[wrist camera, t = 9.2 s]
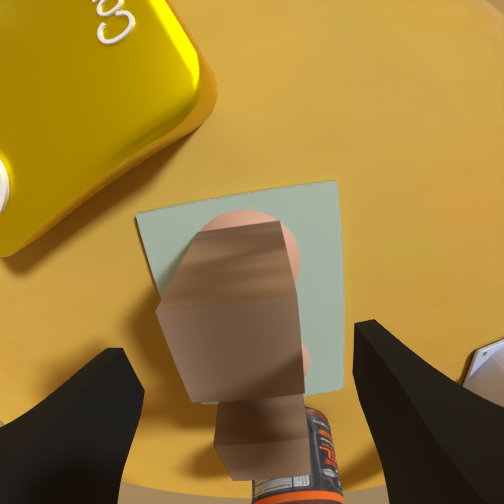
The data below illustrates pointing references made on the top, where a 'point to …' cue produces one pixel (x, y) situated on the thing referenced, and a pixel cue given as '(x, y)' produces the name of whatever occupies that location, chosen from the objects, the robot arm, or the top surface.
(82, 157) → the element tile
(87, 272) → the top surface
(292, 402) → the block
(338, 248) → the board
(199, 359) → the walnut block
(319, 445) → the supplement bottle
